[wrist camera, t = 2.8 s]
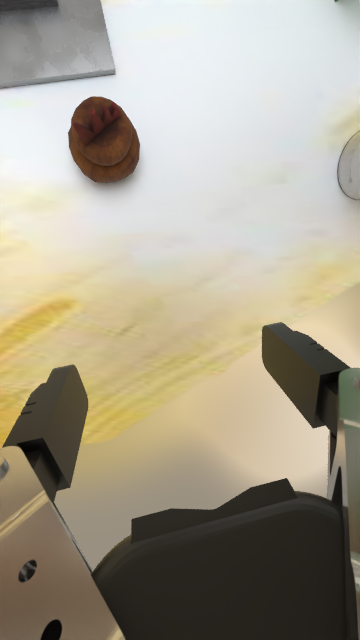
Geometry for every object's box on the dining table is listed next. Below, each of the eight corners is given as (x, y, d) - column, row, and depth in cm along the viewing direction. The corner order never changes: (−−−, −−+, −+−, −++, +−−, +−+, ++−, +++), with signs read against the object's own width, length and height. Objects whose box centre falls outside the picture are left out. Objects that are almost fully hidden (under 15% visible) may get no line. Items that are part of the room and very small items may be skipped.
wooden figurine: (89, 191, 31) (64, 168, 17) (69, 136, 29) (22, 58, 15) (142, 177, 32) (158, 144, 18) (127, 122, 29) (132, 36, 16)
